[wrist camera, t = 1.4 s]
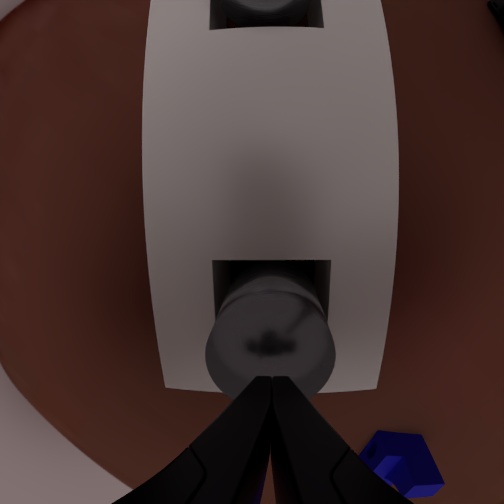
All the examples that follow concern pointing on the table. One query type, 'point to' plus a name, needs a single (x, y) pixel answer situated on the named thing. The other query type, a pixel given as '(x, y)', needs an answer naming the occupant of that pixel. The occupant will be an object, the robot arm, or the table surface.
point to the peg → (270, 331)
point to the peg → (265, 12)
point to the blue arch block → (403, 463)
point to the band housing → (270, 173)
